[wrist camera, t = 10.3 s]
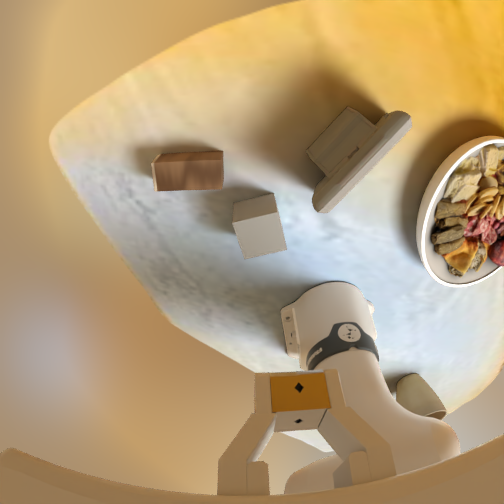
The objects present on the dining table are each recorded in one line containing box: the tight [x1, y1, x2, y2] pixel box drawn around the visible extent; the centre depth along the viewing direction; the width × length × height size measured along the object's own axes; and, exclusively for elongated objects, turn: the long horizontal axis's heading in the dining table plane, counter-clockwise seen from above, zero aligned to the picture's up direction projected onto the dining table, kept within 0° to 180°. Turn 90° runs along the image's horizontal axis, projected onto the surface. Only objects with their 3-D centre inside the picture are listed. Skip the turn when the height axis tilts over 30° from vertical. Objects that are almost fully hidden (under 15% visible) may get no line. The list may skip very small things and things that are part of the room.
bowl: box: [416, 136, 504, 287], centre depth 42 cm, size 30×30×8 cm
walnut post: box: [151, 151, 224, 191], centre depth 40 cm, size 4×4×9 cm
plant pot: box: [396, 373, 447, 420], centre depth 71 cm, size 15×15×16 cm
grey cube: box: [232, 193, 287, 259], centre depth 44 cm, size 6×6×6 cm
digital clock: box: [306, 107, 412, 213], centre depth 36 cm, size 16×9×11 cm, turn 130°
